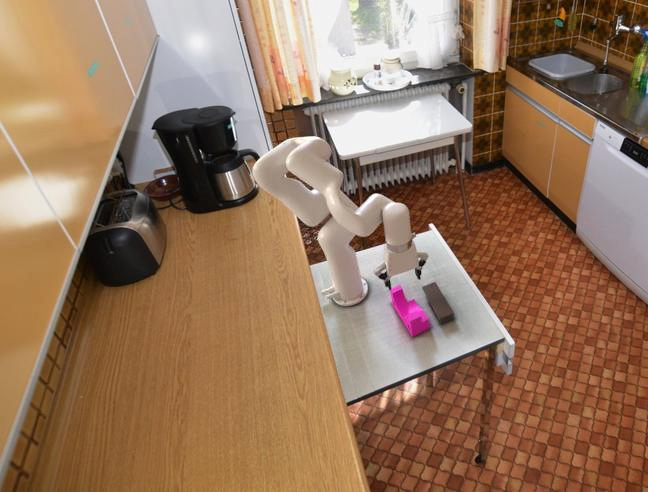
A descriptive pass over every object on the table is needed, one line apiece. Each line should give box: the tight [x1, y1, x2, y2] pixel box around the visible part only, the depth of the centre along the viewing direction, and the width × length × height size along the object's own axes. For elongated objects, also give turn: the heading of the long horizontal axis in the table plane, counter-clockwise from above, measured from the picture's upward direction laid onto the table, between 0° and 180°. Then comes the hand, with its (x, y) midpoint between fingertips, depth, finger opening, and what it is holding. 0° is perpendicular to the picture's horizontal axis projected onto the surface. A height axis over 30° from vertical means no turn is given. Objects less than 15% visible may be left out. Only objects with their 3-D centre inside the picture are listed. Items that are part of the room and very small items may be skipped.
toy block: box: [389, 284, 431, 338], centre depth 142 cm, size 15×6×8 cm, turn 29°
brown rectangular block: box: [421, 281, 455, 324], centre depth 147 cm, size 15×5×3 cm, turn 23°
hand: (403, 281), depth 137 cm, fingers open, 9 cm apart
